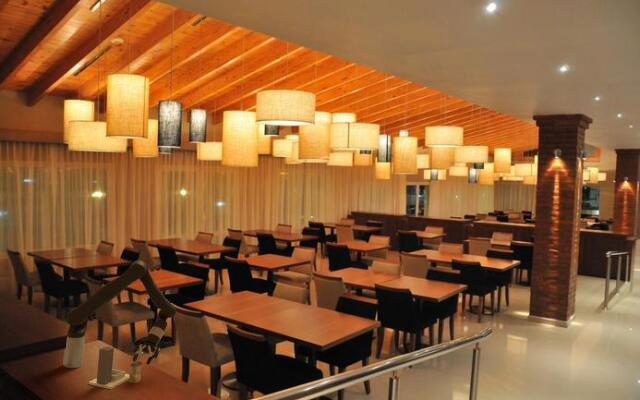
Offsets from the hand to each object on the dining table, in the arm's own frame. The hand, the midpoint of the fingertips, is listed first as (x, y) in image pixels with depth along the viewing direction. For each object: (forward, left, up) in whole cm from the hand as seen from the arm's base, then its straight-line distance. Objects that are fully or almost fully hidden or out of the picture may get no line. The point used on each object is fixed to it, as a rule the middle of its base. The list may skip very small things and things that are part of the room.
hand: (140, 362), depth 267 cm
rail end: (0, -4, -9) cm, 10 cm away
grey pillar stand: (-11, -9, -9) cm, 17 cm away
